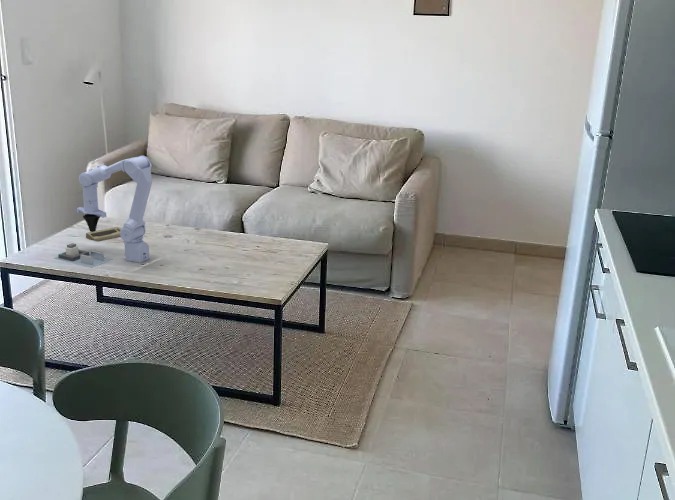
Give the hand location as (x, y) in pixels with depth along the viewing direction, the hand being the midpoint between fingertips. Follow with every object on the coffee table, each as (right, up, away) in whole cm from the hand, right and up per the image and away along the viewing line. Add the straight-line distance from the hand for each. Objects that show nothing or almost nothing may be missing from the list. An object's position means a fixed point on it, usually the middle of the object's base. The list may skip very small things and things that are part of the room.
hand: (92, 231), depth 304 cm
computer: (-2, -2, +25) cm, 26 cm away
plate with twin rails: (+3, -12, -9) cm, 15 cm away
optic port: (-6, -11, -4) cm, 13 cm away
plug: (-7, -11, -5) cm, 14 cm away
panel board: (-2, -12, -6) cm, 14 cm away
